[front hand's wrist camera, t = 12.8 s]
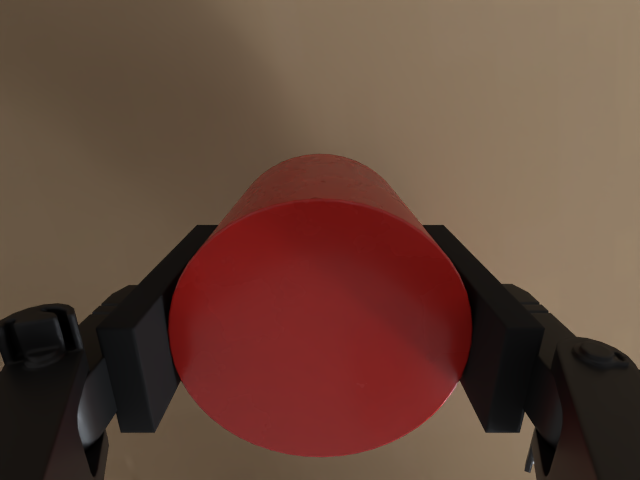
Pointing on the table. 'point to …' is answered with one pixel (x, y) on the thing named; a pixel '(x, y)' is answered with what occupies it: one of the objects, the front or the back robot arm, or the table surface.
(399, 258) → the red cylinder
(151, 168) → the table surface
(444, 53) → the table surface
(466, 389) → the front robot arm
